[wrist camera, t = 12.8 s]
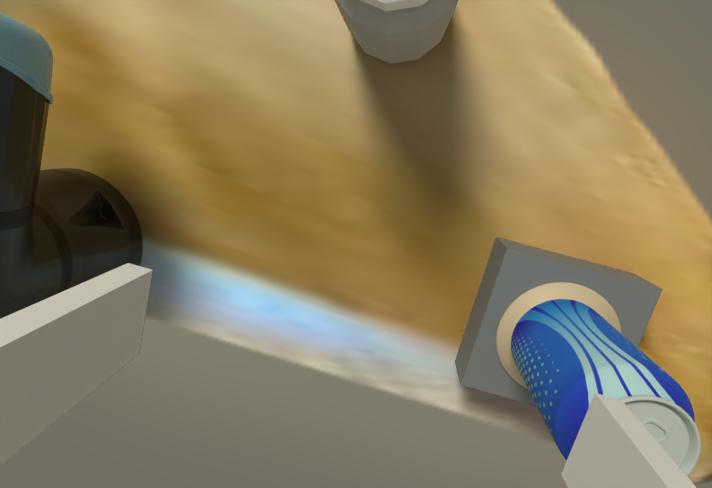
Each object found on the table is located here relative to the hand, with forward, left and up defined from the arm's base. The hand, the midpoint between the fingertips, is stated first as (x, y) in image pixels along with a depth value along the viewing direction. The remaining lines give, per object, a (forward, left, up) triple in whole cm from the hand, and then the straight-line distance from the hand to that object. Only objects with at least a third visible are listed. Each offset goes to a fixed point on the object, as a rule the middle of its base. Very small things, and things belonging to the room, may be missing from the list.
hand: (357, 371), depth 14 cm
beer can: (+18, -7, -30) cm, 35 cm away
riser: (+18, -7, -35) cm, 40 cm away
